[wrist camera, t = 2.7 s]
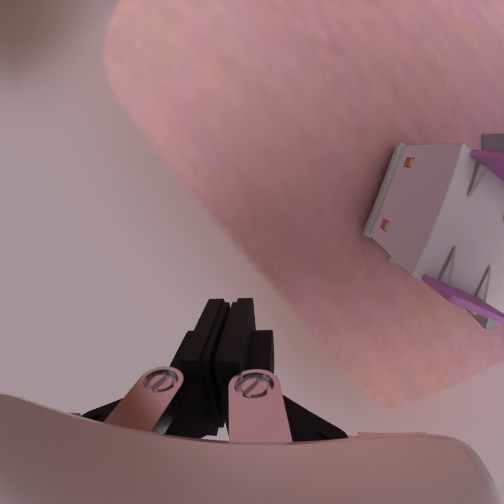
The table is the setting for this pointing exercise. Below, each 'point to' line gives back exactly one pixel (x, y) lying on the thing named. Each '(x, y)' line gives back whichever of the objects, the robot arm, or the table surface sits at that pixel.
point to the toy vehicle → (446, 222)
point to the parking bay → (500, 144)
